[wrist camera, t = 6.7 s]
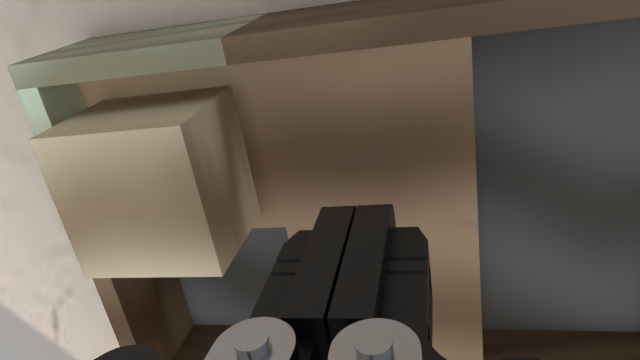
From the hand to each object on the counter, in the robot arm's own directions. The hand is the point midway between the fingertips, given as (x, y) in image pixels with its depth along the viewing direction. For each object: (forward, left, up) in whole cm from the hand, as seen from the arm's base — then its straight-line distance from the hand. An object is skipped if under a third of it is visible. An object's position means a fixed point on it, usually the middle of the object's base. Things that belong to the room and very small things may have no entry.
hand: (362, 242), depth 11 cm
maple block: (0, -8, -7) cm, 10 cm away
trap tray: (+4, -1, -9) cm, 10 cm away
